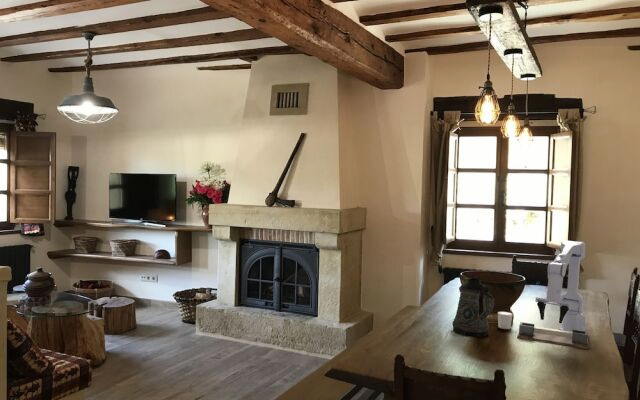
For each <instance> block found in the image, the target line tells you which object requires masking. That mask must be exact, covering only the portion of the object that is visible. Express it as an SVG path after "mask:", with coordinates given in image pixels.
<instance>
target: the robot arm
mask: <svg viewBox="0 0 640 400" xmlns="http://www.w3.org/2000/svg"><path fill="white" fill-rule="evenodd" d="M586 248H587V246H586V243H585V242H584V241H573V240H566V239H563V240H562V241H561V242H560V251H561V253H559V254H558V255H556V256H555V258H554V260H553V261H551V262H549V263H548V265H547V280H548V282H547V292H546V298H542V297H537V296H536V297H535V302H536V305H537V309H538V311H539V317H540V320H541V321H543V320H544V319H545V312H546V311H545V310H546V306H547V304H548V305H554V306H559V317H558V318H559V320H558V323H559V324H562V327H558V329H557V330H563V331H570V332H573V330H580V331H586V316H585V314H583V313H584V311H585V298H584V297H583V296H582V295H581V294H580V293H579V286H580V283H579V281H580V269H581V260H584V259H585V257H586V250H587V249H586ZM567 267H568V276H567V290H566V292H564V293H563V292H562V289H563V282H564V277H565V275H566V273H567V272H566V271H567Z"/></svg>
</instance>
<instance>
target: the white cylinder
mask: <svg viewBox="0 0 640 400" xmlns="http://www.w3.org/2000/svg"><path fill="white" fill-rule="evenodd" d="M512 320H513V313H511V312H508V311H498V312H497V322H498V323H497V325H498V328H499V329H503V330H510V329H511V327H512Z"/></svg>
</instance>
